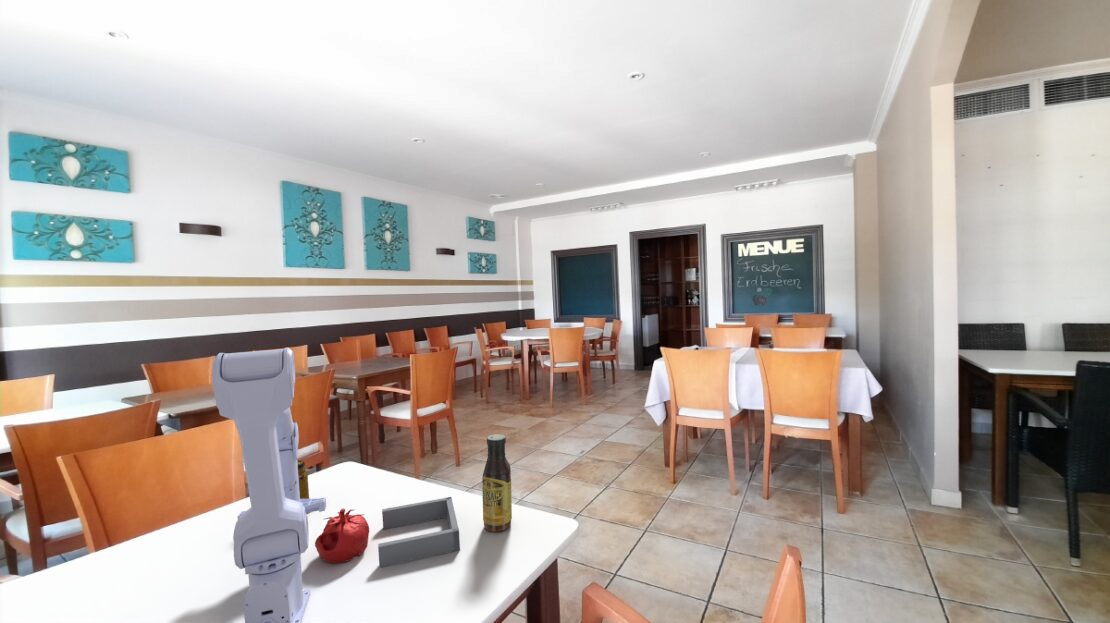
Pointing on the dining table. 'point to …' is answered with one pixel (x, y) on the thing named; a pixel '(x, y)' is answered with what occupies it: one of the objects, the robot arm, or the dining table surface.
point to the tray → (423, 543)
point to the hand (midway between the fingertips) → (286, 553)
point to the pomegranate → (343, 537)
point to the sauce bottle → (497, 486)
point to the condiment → (303, 480)
